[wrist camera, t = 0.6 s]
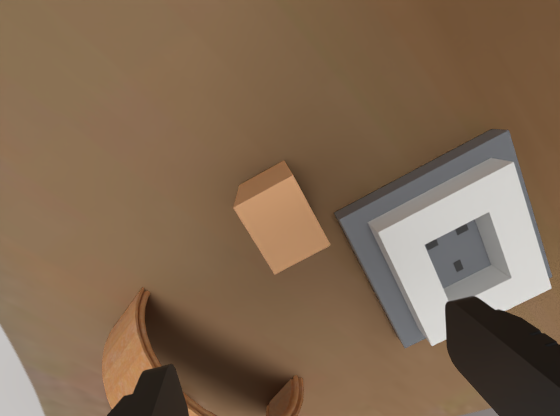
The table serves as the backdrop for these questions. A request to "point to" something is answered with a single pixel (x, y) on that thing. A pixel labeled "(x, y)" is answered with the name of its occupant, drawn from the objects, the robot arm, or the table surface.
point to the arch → (140, 356)
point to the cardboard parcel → (279, 218)
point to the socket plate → (449, 237)
